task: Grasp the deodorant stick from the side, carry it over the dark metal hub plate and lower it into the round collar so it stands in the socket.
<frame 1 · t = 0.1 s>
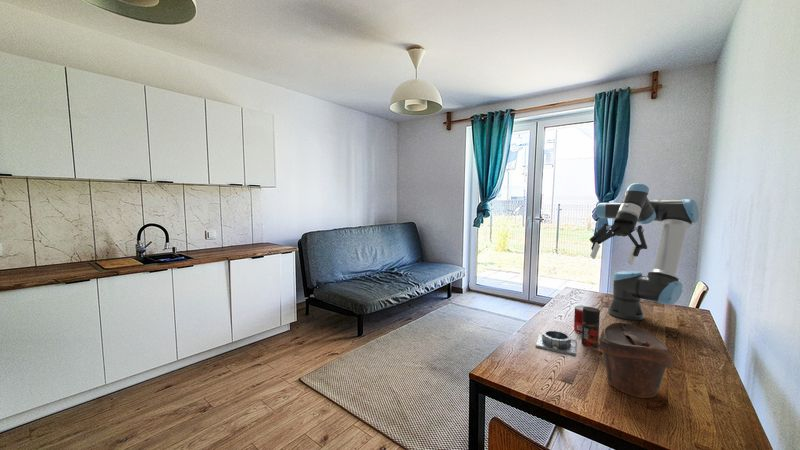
hand: (610, 259, 124), 36 cm above the table, tool tilted 35°, fingers open, 13 cm apart
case: (632, 387, 98), on the table
deodorant: (589, 345, 128), on the table
canned food: (583, 332, 141), on the table
hub socket: (556, 344, 128), on the table
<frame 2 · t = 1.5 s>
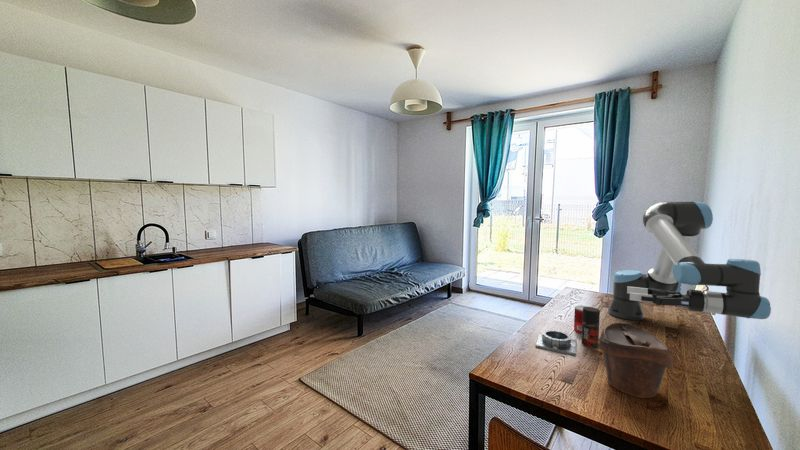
hand: (628, 292, 121), 23 cm above the table, tool horizontal, fingers open, 13 cm apart
nothing on the table moved.
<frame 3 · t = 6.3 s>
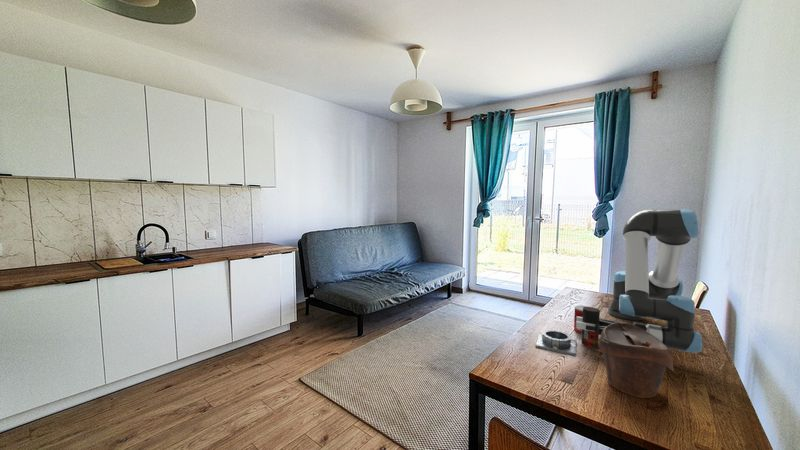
hand: (576, 322, 130), 9 cm above the table, tool horizontal, fingers closed on deodorant, 6 cm apart
deodorant: (589, 345, 128), on the table, touching gripper
everything else where it was.
when the fingers open (11 cm above the table, at t = 10.7 s): deodorant drops 1 cm, resting on hub socket.
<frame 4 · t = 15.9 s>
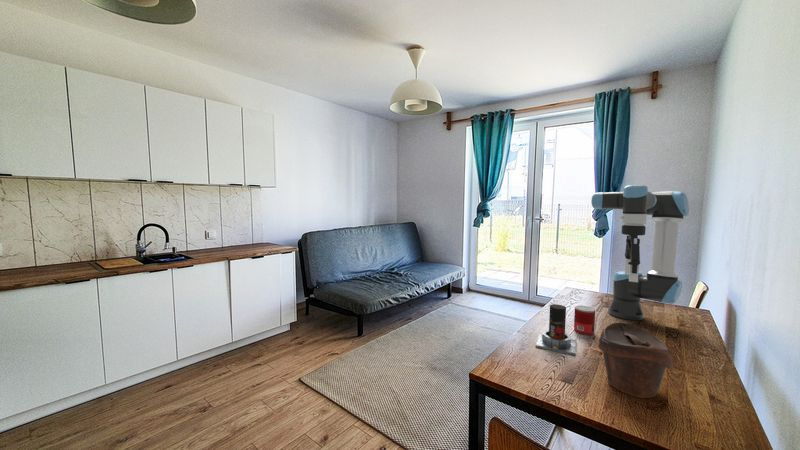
hand: (630, 278, 123), 29 cm above the table, tool pointing down, fingers open, 13 cm apart
deodorant: (556, 342, 128), point 1 cm above the table, touching hub socket
everything else where it was.
at the end: deodorant 0.1 cm off-centre on the hub socket, point 0.8 cm above the hub socket's base; deodorant tilted 0°; the gripper is holding nothing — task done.
